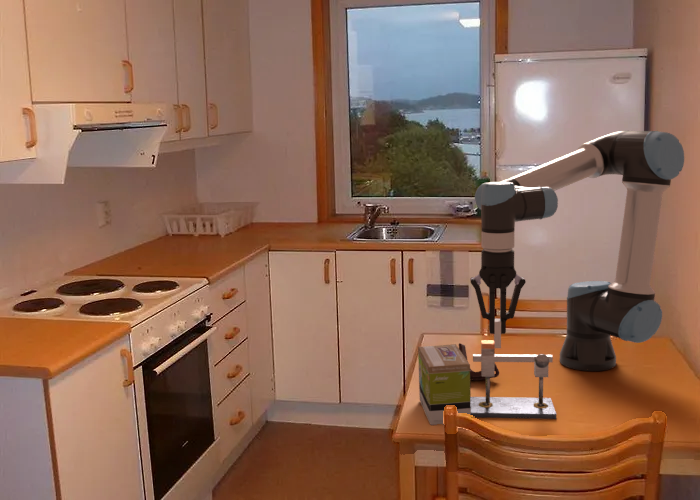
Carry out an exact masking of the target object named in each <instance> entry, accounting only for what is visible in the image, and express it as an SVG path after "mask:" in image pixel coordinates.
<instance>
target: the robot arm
mask: <svg viewBox="0 0 700 500" xmlns="http://www.w3.org/2000/svg"><path fill="white" fill-rule="evenodd" d="M684 165H685V151H684V148H683V145H682V143H681V142H680V140H679V138H678V137H677V136H675V135H674V134H672V133H670V132H666V131H658V130H644V131H643V130H620V131H615V132H614V131H613V132H611V133H609V134H606V135H602V136H599V137H597V138H594V139H593V140H590V141H587V142H585V143H582V144H580V145H579V147H578V148H577V150H575V151H573V152H570V153H568V154H565V155H562V156H561V157H558V158H555V159H553V160H550V161H549V162H545V163H543V164H541V165H538V166H536V167H534V168H531V169H529V170H527V171H524V172H522V173H519V174H516V175H514V176H511V177H509V178H506V179H503V180H501V181H490V182H484V183H481V184H480V185H479V186H478V187H477V189H476V191H475V195H474V200H475V201H474V202H475V205H476V206H477V208H478V209H479V210H480V211H481V212H480V213H481V216H480V217H481V234H480V235H481V236H480V237H481V245H480V246H481V248H482V251H481V252H480V254H481V259H480V260H481V261H480V262H481V263H480V265H481V266H480V267H481V268H480V270H479V271H478V272H479V273H478V274H477V275H475V276H473V277H470V279H469V282H470V284H471V286H472V287H473V289H474V290H475V294H476V299H477V302H478V307H479V311H480V315H481V317H482V319H484V320H485V319H486V320H488V323H489V324H488V326H489V327H488V331H489V334H491V335H493V340H494V343H495V349H502V335H505V334H506V332H507V320H510V319H511V320H512V319H513V318H514V317H515V313H516V310H517V306H518V302H519V298H520V295H521V291H522V289H523V287H524V286H525V284H526V282H527V281H526V279H525V277H523V276H520V275H519V274H517V271H516V269H515V250H514V248H515V227H516V224H515V223H517V222H524V221H532V220H533V221H534V220H543V219H546V218H551V217H552V216H554V215H555V214H556V212H557V210H558V205H559V203H558V202H559V198H558V196H557V192H555V191H558V190H560V189H563V188H565V187H567V186H570V185H572V184H575V183H578V182H579V181H582V180H584V179H587V178H589V179H597V178H599V177H602V176H605V175H607V176H608V175H620V176H621V175H622V180H621V183H622V184H623V185H624V187H625V188H626V196H625V197H626V198H625V203H624V204H625V205H624V211H623V218H622V226H621V227H622V228H621V235H620V242H619V248H618V249H619V250H618V257H617V264H616V272H615V279H614V281H613V282H610V281H605V280H592V281H591V280H589V281H587V280H586V281H580V282H574V283H572V284H570V285H569V287H568V288H567V297H566V336H565V338H564V341H563V345H562V347H561V349H560V352H559V362H560V364H561V365H563V366H564V367H566V368H569V369H572V370H577V371H582V372H583V371H584V372H602V371H603V372H604V371H609V370H611V369H613V368H615V367H616V366H617V356H616V352H615V349H614V345H613V342H612V339H611V336H612V337H615V338H618V339H620V340H623V341H624V342H625V341H626V342H632V343H635V344H638V343H644V342H647V341H648V340H650V339H651V338H652V337H653V336H654V335H655V334H656V333H657V331H658V330H659V328H660V326H661V324H662V319H663V310H662V308H661V305H660V304H659V303H658V302H657V301H655V296H656V291H655V290H654V289H653V287H652V286H651V280H652V273H653V265H654V257H655V251H656V245H657V237H658V236H657V235H658V230H659V229H658V228H659V224H660V223H659V221H660V214H661V208H662V202H663V201H662V200H663V194H664V192H665V191H666V190H668V189H669V188H670V187H671V183H672V180H673V179H675V178H677V177H678V176H679V175H680V172H682V171H683V168H684ZM481 280H482V281H483V282H484V284H485V285H486V287H488V289H489V290H488V292H489V294H488V297H489V299H488V300H489V301H488V302H489V303H488V312H487V310H486V309H487V308H486V305H485V301H484V298H483V294H482V290H481V284H482V281H481ZM513 281H514V284H515V285H514V288H513V293H512V296H511V299H510V303H509V306H508V311H507V288H508V287H509V286H510V284H511V283H512V282H513ZM496 289H499V297H500V298H499V307H500V308H499V314H500V315H499V317H500V318H496V314H495V313H496Z"/></svg>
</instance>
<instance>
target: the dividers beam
mask: <svg viewBox="0 0 700 500" xmlns="http://www.w3.org/2000/svg"><path fill="white" fill-rule="evenodd" d="M553 359H554V358H553V354H544V353H539V354H507V353H506V354H504V353H503V354H499V353H497V354H496V353H495V363H533V367H534V368H533V369H534V370H533V372H534V373H533V375H534V377H535V378H538V398H539V404H543V398H544V378H549V364H550V363H553V362H554V361H553ZM472 361H473V363H481V362H482V354H481V353H479V354H477V353H473V354H472Z"/></svg>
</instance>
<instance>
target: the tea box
mask: <svg viewBox="0 0 700 500" xmlns="http://www.w3.org/2000/svg"><path fill="white" fill-rule="evenodd" d="M417 350H418V351H417V356H418V357H417V358H418V359H417V360H418V361H417V362H418V384H419V385H418V386H419V387H418V389H419V391H418V392H419V393H418V394H419V401H420V404H421V406H422V409H423V411H424V414H425V415H426V418H427V420H428V423H429V425H430V426H438V425H437V424H442V425H444V424H443V411H444V407H445V406H446V405H455V406H456V407H457V411H458V413H467V414H470V415H471V397H472V396H471V395H472V393H471V379H470V369H471V364H470V362H469V361H468V359H467V360H466V358H465V357H464V355H463V354H462V352H461V351H460V350H459V346H458V345H457V344H456V343H455V344H454V343H453V344H452V343H451V344H442V345H425V346H417Z"/></svg>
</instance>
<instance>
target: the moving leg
mask: <svg viewBox="0 0 700 500" xmlns="http://www.w3.org/2000/svg"><path fill="white" fill-rule="evenodd" d="M480 350H481V351H480V354H482V362H480V368H481V369H480V371H481V375H482V377H486V379H485V397H486V403H490V397H491V378H490V377H494V376H495V373H496V372H495V364H496V362H495V354H496V353H495V351H496V348H495V343H494V339H492V340H491V339H490V340H489V339H482V340H481V341H480Z"/></svg>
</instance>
